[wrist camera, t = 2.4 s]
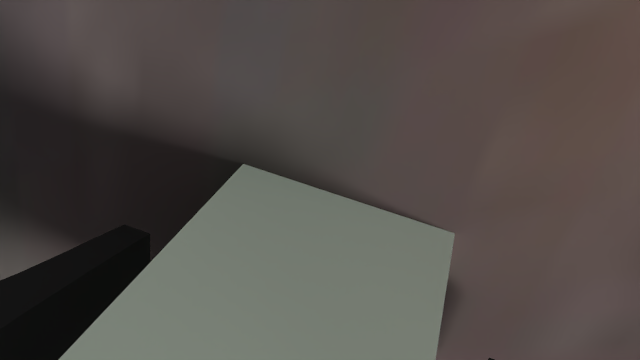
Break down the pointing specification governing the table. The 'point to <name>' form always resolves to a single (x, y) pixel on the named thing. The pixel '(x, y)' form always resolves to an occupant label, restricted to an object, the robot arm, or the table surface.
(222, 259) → the sage block
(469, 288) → the table surface
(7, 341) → the robot arm
